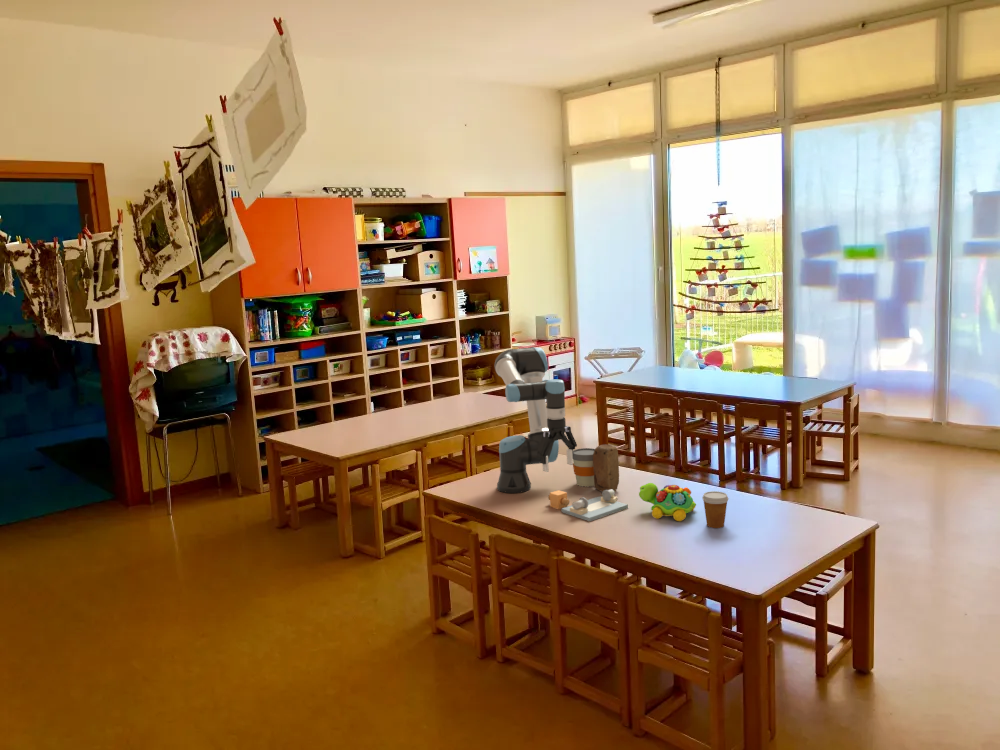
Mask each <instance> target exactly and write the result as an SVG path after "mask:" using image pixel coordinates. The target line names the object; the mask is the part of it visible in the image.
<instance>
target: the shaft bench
mask: <svg viewBox="0 0 1000 750" xmlns="http://www.w3.org/2000/svg"><path fill="white" fill-rule="evenodd" d="M615 492H616V491H615ZM615 492H614V490H613V489H610V490H604V491H603V492H602V491H601V496H600V495H599V496H595V497H592V498H589V499H587V498H586V497H584V496H583V497H580V498H579V500H578V501H574V502H573V503H572V504H571V505H567V507H564V508H561V512H562V514H566V515H570V516H572V517H574V518H579V519H581V520H583V521H586V520H587V522H589V521H590V522H592V521H595V520H598V519H601V518H603V517H607V516H609V514H610V515H613V514H615V513H618V512H621V511H624V510H626V508H627V509H629V505H628V504H627V503H624V502H620V501H618V496H615V495H616V493H615ZM623 509H624V510H623ZM620 510H621V511H620ZM612 513H613V514H612Z"/></svg>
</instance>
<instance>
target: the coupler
mask: <svg viewBox="0 0 1000 750" xmlns="http://www.w3.org/2000/svg"><path fill="white" fill-rule="evenodd" d="M547 499H548V500H549V507H550V508H553V509H557V510H562V508H565V507H568V506H569V505H570V500H569V499H568V492H566V491H562V490H559V489H558V490H555V491H551V492H549V495H548V497H547Z"/></svg>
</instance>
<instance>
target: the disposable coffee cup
mask: <svg viewBox="0 0 1000 750" xmlns="http://www.w3.org/2000/svg"><path fill="white" fill-rule="evenodd" d="M702 495H703V496H702V500H703V505H704V514H705V520H706V526H707V527H708V528H712V529H720V528H723V527H725V523H726V512H727V505H728V501H729V499H730V498H729V496H728V494H727V493H725V492H722V491H715V490H714V491H713V490H712V491H706V492H705V493H703V494H702Z"/></svg>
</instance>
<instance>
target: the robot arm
mask: <svg viewBox="0 0 1000 750" xmlns="http://www.w3.org/2000/svg"><path fill="white" fill-rule="evenodd" d="M494 361H495V362H494V371H495V373H496V375H497V376H498V377H500V378H501V379H502V380H503V383H504V384H505V392H504V393H505V394H504V395H505V398H506V401H507V402H508V403H519V402H526V407H527V408H526V409H527V415H528V423H529V430H530V431H529V433H528V434H527V438H526V437H525V436H524V435H521V434H519V435H512V436H511V435H510V436H507V437H504V438H503V439H501V440H500V441H499V444H498V445H499V448H498V453H499V471H500V473H499V476H498V479H497V480H498V481H497V483H496V484H497V485H496V489H497V491H499V492H501V493H505V494H518V493H524V492H527V491H529V490H530V489H531V488H532V487H531V486H532V484H531V480H530V477H529V475H528V472H527V466H528V465H538V464H541V465H542V472H546V473H549V469H550V468H549V463H555V462H556V461H557V459H558V456H559V448H560V444H559V440H561V441H562V442H563V443H564V444H565V446H566V447H567V448H566V464H567V465H570V466H573V451H574V450H576V447H577V446H578V444H577V441H576V439H575V438H574V434H573V433H572V427H571V426H568V425H566V424H567V423H566V400H565V399H566V397H565V394H566V393H565V390H566V387H565V382H564V380H563V379H554V378H553V379H543V378H544V377H545V375H546V372H548V367H549V365H548V359H547V355H546V353H545V351H544V349H543V348H542V347H535V346H534V347H532V346H531V347H522V348H509V349H506V350H504V351H502V352H501V353H500V354H499V355H498V356H496V358H495V360H494Z"/></svg>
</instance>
